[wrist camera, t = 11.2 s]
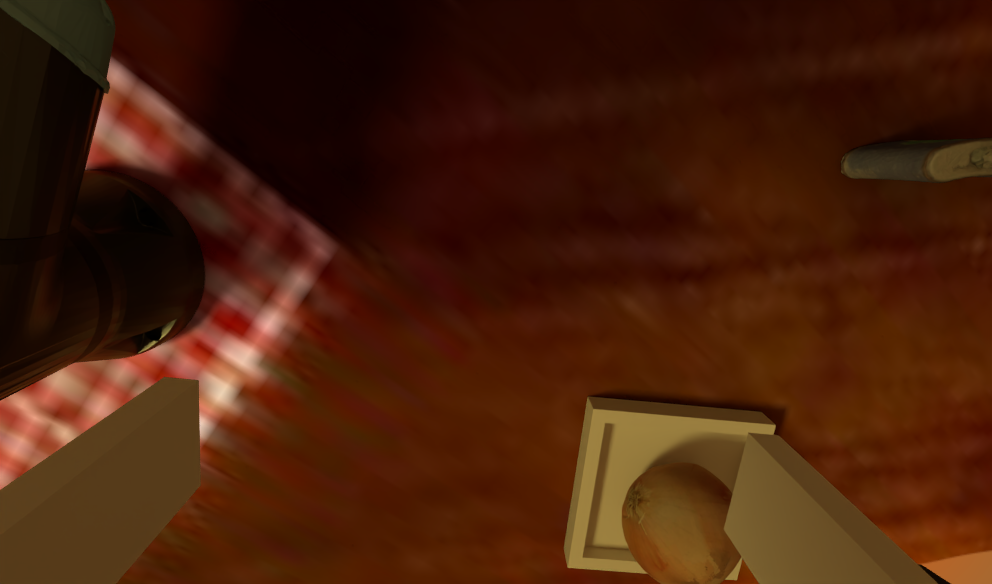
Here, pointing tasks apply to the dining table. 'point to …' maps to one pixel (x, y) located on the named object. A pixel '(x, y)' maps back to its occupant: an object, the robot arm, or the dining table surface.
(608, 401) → the dish
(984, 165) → the flask
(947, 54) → the dining table surface
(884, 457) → the dining table surface
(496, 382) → the dining table surface
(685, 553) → the onion
